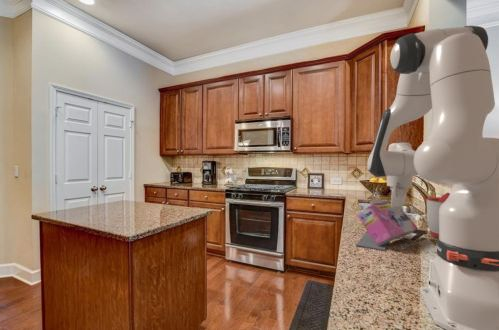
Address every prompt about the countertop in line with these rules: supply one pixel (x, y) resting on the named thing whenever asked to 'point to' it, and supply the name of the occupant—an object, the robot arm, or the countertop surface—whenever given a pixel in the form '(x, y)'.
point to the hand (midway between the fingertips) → (398, 215)
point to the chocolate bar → (414, 234)
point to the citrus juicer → (434, 213)
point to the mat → (370, 243)
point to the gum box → (385, 223)
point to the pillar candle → (378, 202)
